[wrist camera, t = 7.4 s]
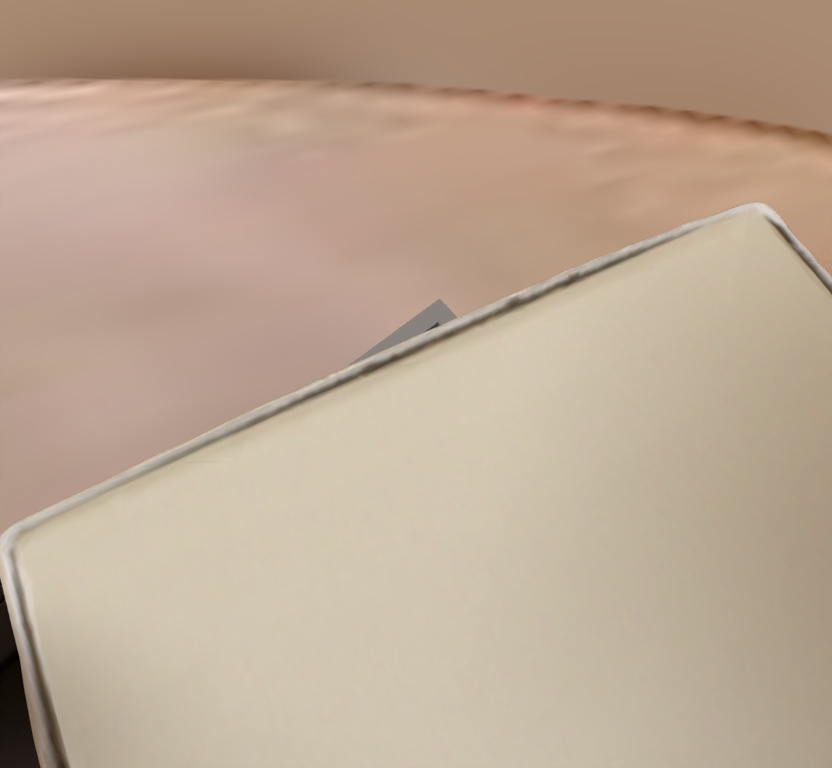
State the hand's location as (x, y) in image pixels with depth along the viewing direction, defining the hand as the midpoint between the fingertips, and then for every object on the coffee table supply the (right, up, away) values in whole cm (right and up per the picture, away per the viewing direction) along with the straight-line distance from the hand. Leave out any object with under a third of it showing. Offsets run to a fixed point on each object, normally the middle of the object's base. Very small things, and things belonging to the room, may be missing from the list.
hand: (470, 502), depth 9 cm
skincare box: (-1, -4, +6) cm, 7 cm away
